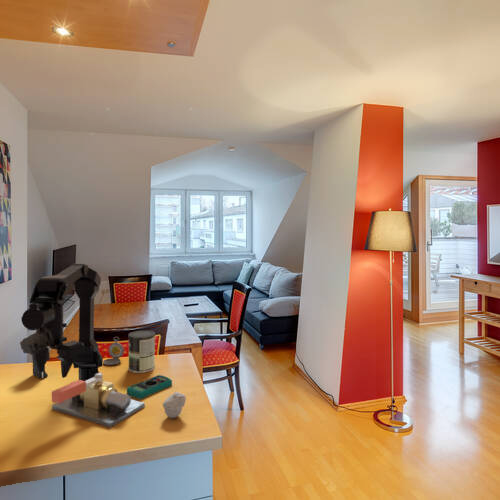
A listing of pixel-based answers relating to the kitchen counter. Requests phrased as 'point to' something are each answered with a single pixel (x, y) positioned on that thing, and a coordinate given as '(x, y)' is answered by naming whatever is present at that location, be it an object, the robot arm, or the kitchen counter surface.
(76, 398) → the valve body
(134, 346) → the coffee can
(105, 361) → the pocket watch
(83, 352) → the robot arm
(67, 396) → the lever
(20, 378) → the kitchen counter surface
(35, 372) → the battery charger
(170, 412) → the pale grey rock
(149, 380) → the digital multimeter
